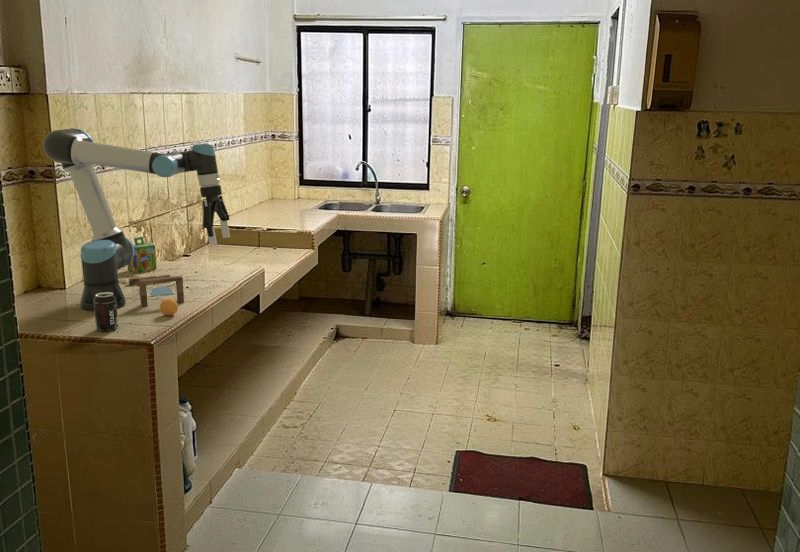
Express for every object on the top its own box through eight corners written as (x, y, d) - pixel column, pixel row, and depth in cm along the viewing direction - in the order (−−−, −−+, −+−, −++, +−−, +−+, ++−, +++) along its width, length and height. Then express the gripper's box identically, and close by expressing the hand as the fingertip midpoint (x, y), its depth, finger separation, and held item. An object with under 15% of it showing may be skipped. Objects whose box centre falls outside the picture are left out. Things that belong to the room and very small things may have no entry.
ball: (162, 318, 244) (160, 301, 242) (159, 313, 249) (158, 297, 247) (179, 316, 246) (178, 299, 245) (176, 311, 252) (175, 295, 250)
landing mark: (141, 297, 269) (141, 297, 269) (137, 290, 280) (137, 289, 280) (173, 294, 275) (173, 293, 274) (169, 287, 285) (168, 286, 285)
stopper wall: (129, 285, 287) (129, 279, 286) (129, 284, 288) (128, 278, 288) (170, 281, 294) (170, 275, 293) (169, 280, 295) (169, 274, 295)
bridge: (184, 302, 263) (182, 277, 261) (141, 307, 257) (139, 281, 255) (182, 300, 266) (181, 275, 264) (140, 304, 260) (138, 279, 257)
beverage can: (92, 332, 228) (89, 296, 225) (101, 326, 235) (98, 291, 232) (113, 332, 228) (110, 297, 225) (121, 326, 235) (118, 291, 232)
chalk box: (140, 273, 306) (137, 240, 303) (126, 270, 311) (124, 238, 308) (157, 269, 314) (155, 237, 310) (144, 267, 319) (142, 234, 315)
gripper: (206, 188, 248) (217, 247, 253) (231, 180, 272) (240, 233, 277) (186, 191, 249) (197, 249, 254) (213, 182, 273) (222, 235, 278)
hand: (220, 241), depth 266 cm, fingers open, 13 cm apart
